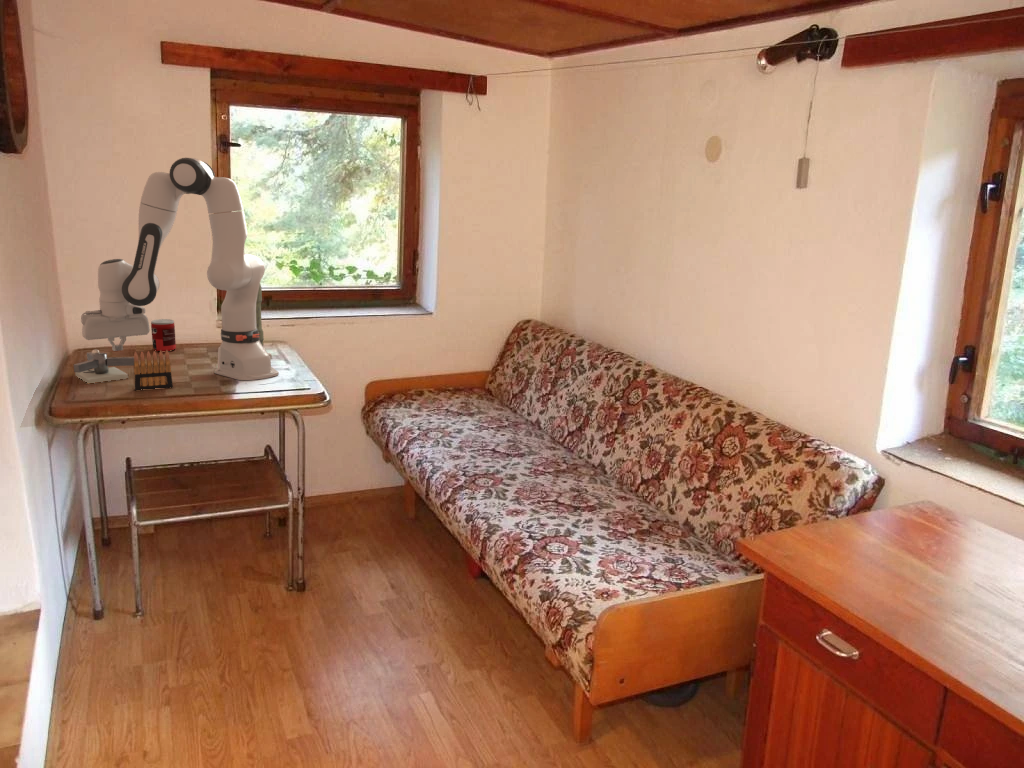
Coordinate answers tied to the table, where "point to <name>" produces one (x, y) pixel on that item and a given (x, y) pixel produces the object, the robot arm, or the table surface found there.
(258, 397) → the table surface
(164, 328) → the canned food
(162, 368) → the ammunition clip
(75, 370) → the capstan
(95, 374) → the stand plate
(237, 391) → the table surface
